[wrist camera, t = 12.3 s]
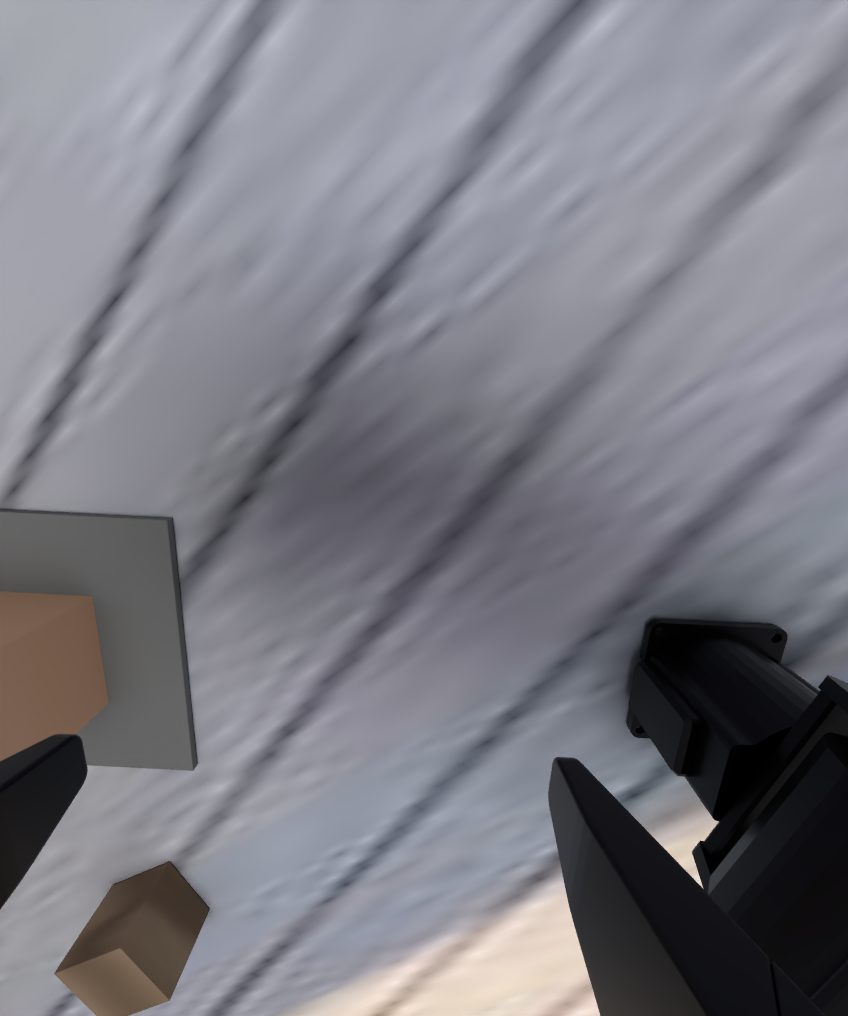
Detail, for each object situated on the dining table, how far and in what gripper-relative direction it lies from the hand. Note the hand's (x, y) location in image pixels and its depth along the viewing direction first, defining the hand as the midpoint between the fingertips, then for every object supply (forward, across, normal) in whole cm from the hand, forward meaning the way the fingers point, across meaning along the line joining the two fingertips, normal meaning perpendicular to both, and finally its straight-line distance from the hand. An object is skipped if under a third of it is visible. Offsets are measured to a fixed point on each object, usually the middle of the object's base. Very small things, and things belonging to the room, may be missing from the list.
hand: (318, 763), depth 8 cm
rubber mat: (+12, +17, +6) cm, 22 cm away
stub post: (+12, +13, +23) cm, 29 cm away
